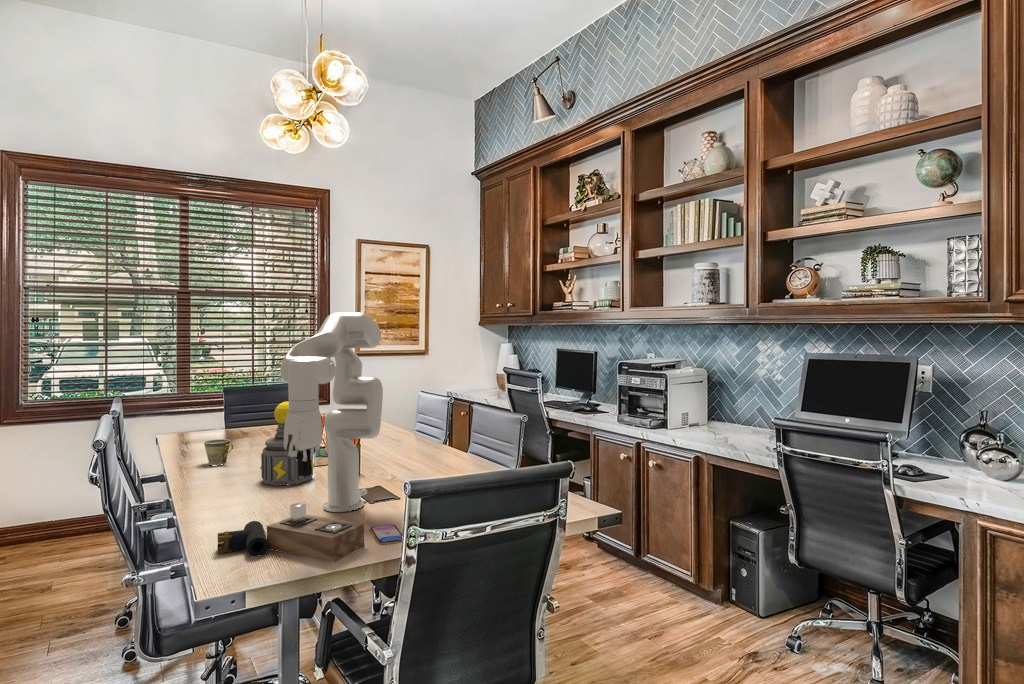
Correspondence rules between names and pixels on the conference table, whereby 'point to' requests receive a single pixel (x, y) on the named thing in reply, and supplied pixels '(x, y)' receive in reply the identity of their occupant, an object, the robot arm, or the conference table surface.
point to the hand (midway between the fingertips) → (305, 475)
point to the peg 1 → (298, 513)
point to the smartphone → (386, 534)
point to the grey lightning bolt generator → (280, 456)
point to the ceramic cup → (217, 451)
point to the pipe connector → (244, 540)
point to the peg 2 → (333, 526)
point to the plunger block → (316, 538)
